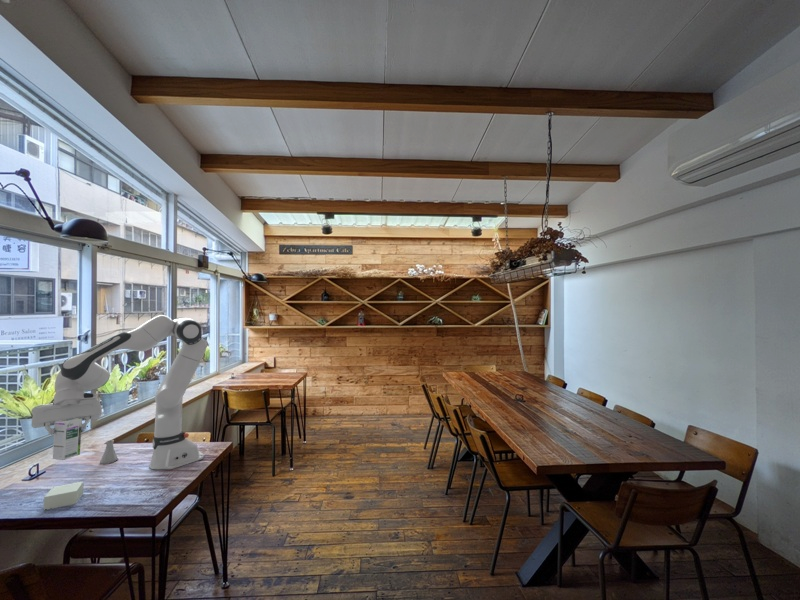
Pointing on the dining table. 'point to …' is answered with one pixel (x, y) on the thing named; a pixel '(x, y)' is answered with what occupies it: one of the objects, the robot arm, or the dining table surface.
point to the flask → (109, 453)
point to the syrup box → (67, 438)
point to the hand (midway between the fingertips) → (67, 431)
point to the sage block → (63, 495)
